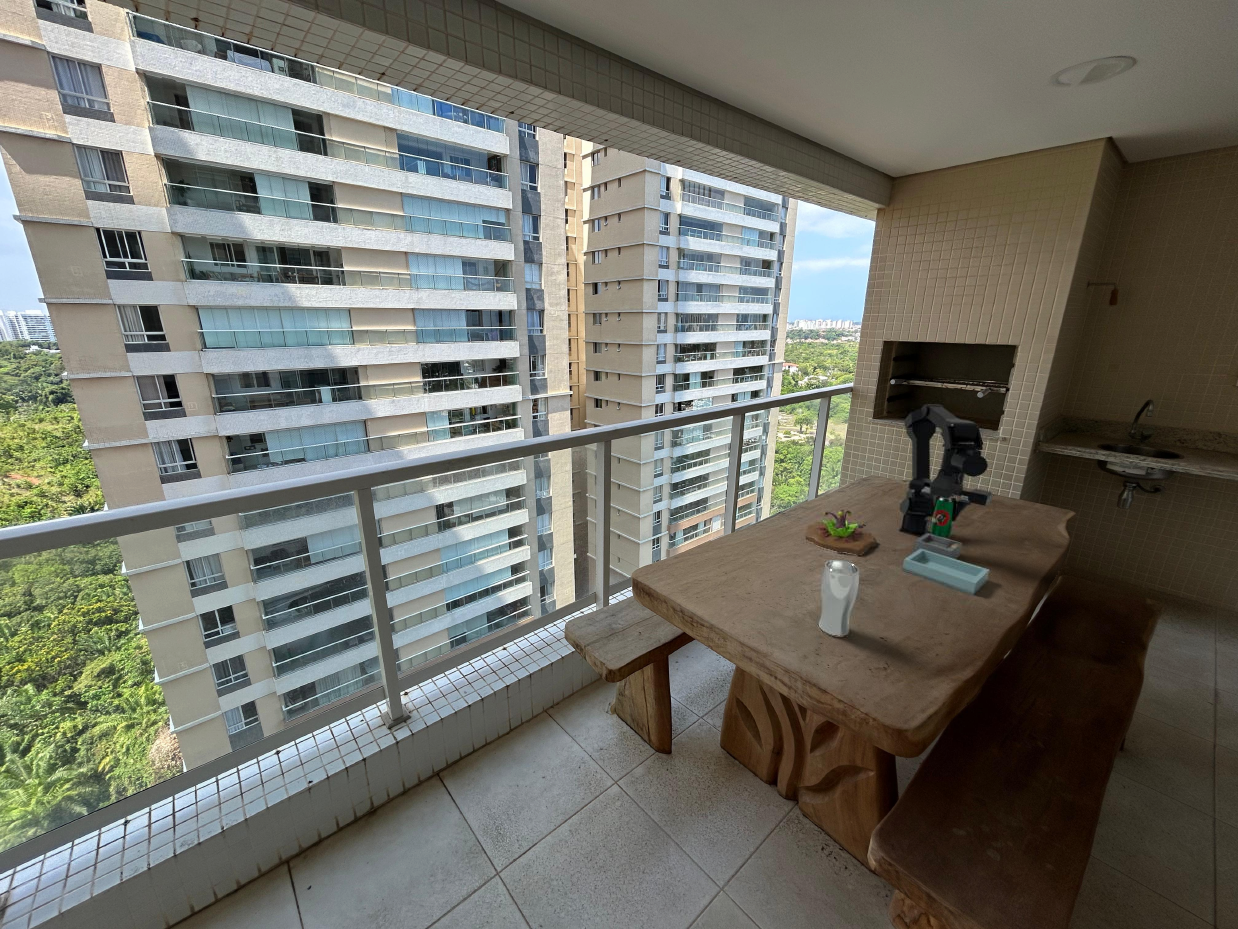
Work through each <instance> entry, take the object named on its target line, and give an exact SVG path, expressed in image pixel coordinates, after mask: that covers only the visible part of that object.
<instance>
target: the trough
mask: <svg viewBox="0 0 1238 929" xmlns="http://www.w3.org/2000/svg"><path fill="white" fill-rule="evenodd" d="M903 570H904V571H903ZM902 571H903V572H907V573H908V572H909V574H911V573H912V575H914V576H917V577H920V578H923V579H925V578H926V580H929V581H932V582H935V583H937V584H940V585H942V584H943V585H942V586H945V585H946V586H945V587H949V588H951V589H954V590H956V591H960V592H962V593H965V594H968V595H971V596H974V595H975V594H976V593H977V592H978V591H979V590H980V589H981V588H982V587H983V586H984V585H985V584H986V582H987V581H988V577H989V573H990V569H988V568H984V567H981V566H978V565H974V564H972V563H969V562H965V561H962V560H959V559H957V558H956V559H953V558H949V557H946V556H943V555H940V554H937V553H933V552H930V551H927V550H924V549H919V550H917V551H916V552H914V553H913V552H912V553H911V554H910V555H909V556H907V557H905V558H904V560H903V565H902Z"/></svg>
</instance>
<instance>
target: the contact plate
mask: <svg viewBox="0 0 1238 929" xmlns="http://www.w3.org/2000/svg"><path fill="white" fill-rule="evenodd" d="M927 543H929V544H933V545H936V546H939V547H943V548H946V549H949V548H951V546H948V545H945V544H941V543H938V542H934V541H931V540H930V541H928V542H927Z"/></svg>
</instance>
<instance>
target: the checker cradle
mask: <svg viewBox="0 0 1238 929" xmlns="http://www.w3.org/2000/svg"><path fill="white" fill-rule="evenodd" d="M930 540H931V541H934V542H938V543H941V544H945V545H948V546H951V548H949V549H946V548H943V547H939V546H936V545H933V544H929V543H927V542H928V541H930ZM914 541H915V542H914V547H913V552H912V554H913V553H914V552H916V551H917V550H919V549H924V550H927V551H930V552H933V553H937V554H940V555H943V556H946V557H949V558H953V559H956V560H957V558H958V557H960V555H961V551H962V547H963V542H961V541H957V540H953V539H949V538H948V537H938V536H935V535H933V534H932V533H928V532H927V533H925V534H924V535H922V536H919V537H918V538H917V539H916V540H914Z"/></svg>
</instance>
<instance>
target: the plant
mask: <svg viewBox="0 0 1238 929" xmlns="http://www.w3.org/2000/svg"><path fill="white" fill-rule="evenodd" d="M852 513H853V512H851V511H850V510H848V509H847V510H846V511H845V512H844V509H840V510H839V511H838V513H837V514H838V516H840V517H838V516H837V515H836V514H835V513H834V512H830V511H825V512H823V516H824V517H828V515H831V516H832V517H833V518H834V519H835V520H834V519H832V518H831V519H830V520H829V521H828V520H824V519H823V520H822V521H821V522H817V521H816V522H814V524H811V525H807V527H806V531H805V535H804V540H805V539H806V540H808V541H810V542H813V543H814V544H815V545H818V546H820V547H823V548H826V549H830V550H833V551H837V552H847V553H852V554H856V555H860V554H862V553H863V552H864V553H866V552H865V551H867V550H868V549H871V548H870V547H872V548H874V547H873V546H875V547H876V537H875V536H874V535H872V532H871V531H868V530H866V529H863V528H859V527H858V523H852V524H848V521H847V516H849V517H850V516H852V515H853V514H852ZM868 551H869V550H868ZM868 551H867V552H868ZM864 553H863V554H864ZM860 556H861V555H860Z"/></svg>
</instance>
